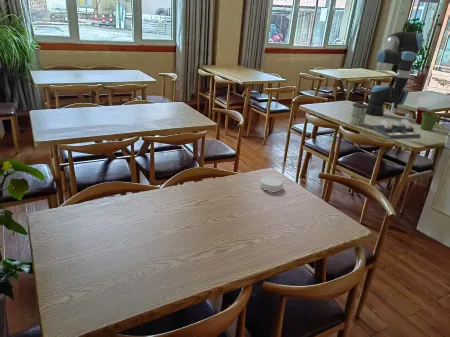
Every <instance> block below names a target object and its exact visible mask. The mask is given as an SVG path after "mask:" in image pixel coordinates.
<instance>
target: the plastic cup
mask: <svg viewBox="0 0 450 337" xmlns="http://www.w3.org/2000/svg"><path fill="white" fill-rule="evenodd" d="M416 110H417V111H416V117H415V124H418V125H421V123H422V113H424V112H426V113H433V110H432V109H429V108H428V107H427V108H426V107H422V106H417V109H416Z"/></svg>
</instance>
